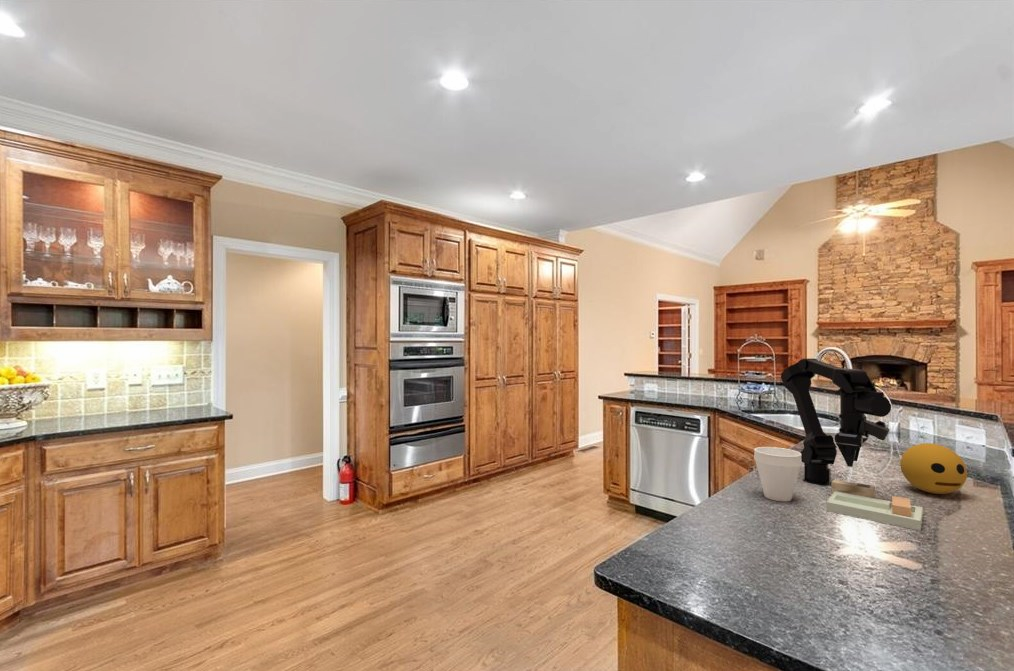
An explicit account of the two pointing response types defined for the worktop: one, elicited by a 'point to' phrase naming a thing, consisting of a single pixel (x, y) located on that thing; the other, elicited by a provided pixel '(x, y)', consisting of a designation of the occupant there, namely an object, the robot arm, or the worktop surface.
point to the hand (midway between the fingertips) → (852, 463)
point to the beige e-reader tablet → (853, 488)
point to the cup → (777, 471)
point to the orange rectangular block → (901, 506)
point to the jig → (873, 510)
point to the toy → (933, 468)
